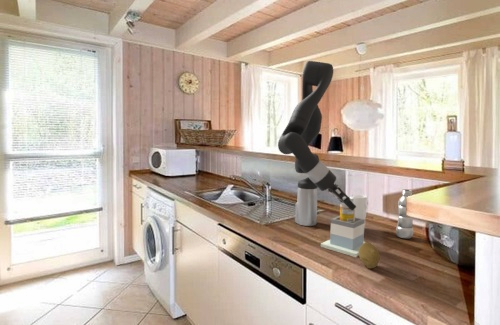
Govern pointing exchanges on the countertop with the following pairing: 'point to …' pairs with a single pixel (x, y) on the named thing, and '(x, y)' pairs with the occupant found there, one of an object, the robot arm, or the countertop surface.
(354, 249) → the brick tower
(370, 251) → the potato
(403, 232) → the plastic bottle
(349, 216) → the supplement bottle
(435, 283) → the countertop surface
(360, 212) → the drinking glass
